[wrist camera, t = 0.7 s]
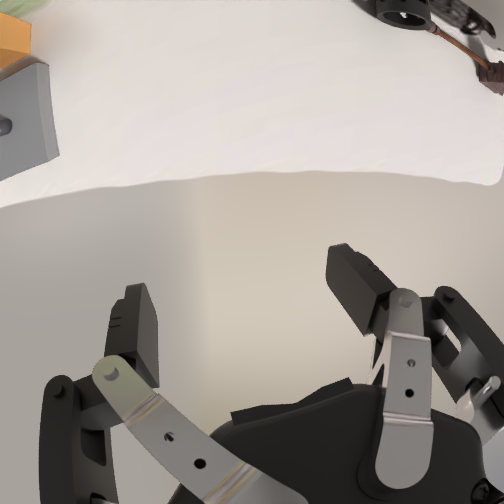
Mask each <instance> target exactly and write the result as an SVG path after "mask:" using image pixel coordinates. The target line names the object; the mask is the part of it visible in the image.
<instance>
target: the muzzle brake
mask: <svg viewBox="0 0 504 504" xmlns="http://www.w3.org/2000/svg"><path fill="white" fill-rule="evenodd" d="M376 12H377V18H378V19H379V20H380V21H382V22H384V23H386V24H388V25H391V26H394V27H398V28H402V29H408V30H427V29H429V28H431V26H432V24H431V15H430V6H429V0H376ZM401 12H404V13H406V15H405V16H406V18H403V17H402V15H401V14H400V13H401ZM418 17H420V18H418Z"/></svg>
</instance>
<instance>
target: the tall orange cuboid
mask: <svg viewBox="0 0 504 504" xmlns="http://www.w3.org/2000/svg"><path fill="white" fill-rule="evenodd" d="M30 37H31V24H29V23H27V22H24V21H22V20H19V19H17V18H14V17H12V16H9V15H6V14H3V13H1V12H0V69H4V68H5V67H7V66H9V65H10V64H12V63H14V62H16V61H18V60H20V59H21V58H23V57H25V56H27V55H29V54H30Z"/></svg>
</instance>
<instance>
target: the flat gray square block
mask: <svg viewBox="0 0 504 504" xmlns="http://www.w3.org/2000/svg"><path fill="white" fill-rule="evenodd" d="M58 156H60V154H59V149H58V144H57V138H56V132H55V126H54V119H53V111H52V102H51V92H50V79H49V65H47V64H42V63H37V62H36V63H34V64H32V65H30V66H28V67H26V68H24V69H22V70H20V71H18V72H17V73H15V74H13V75H11V76H9V77H8V78H6V79H4V80H2V81H1V82H0V181H2V180H4V179H6V178H9V177H11V176H13V175H16V174H18V173H20V172H23V171H25V170H28V169H30V168H33V167H35V166H38V165H41V164H43V163H46V162H49V161H51V160H52V159H54V158H56V157H58Z"/></svg>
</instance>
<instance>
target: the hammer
mask: <svg viewBox="0 0 504 504" xmlns="http://www.w3.org/2000/svg"><path fill="white" fill-rule="evenodd" d="M418 18H419V17H418ZM431 24H432V26H431V28H429V29H427V30H426V31H428V32H430V33H433V34H435V35H440V36H441V37H443V38H444V39H446V40H447V41H449V42H450V43H452V44H453V45H455V46H456V47H458V48H459V49H461V50H462V51H463V52H465V53H466V54H468V55H469V56H470V57H472V58H473V59H474V60H475V61H477V62H478V63H479V64H480V74H479V82H481V83H482V84H483V85H485V86H486V87H487V88H489V89H490V90H491V91H493V92H494V93H499V94H500V95H502V96H503V93H504V63H503V62H502V61H499V63H491V62H489V61H488V60H487V59H484V60H482V59H481V58H479V57H478V56H477V55H476V54H474V53H473V52H472V51H470V50H469V49H468V48H466V47H465V46H464V45H462V44H461V43H459V42H458V41H457V40H455V39H454V38H452V37H451V36H449V35H448V34H446V33H445V32H443V31H442V30H440V28H439V27H438V26H437V25H436V24H435V23H434V22H433V21H431Z"/></svg>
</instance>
